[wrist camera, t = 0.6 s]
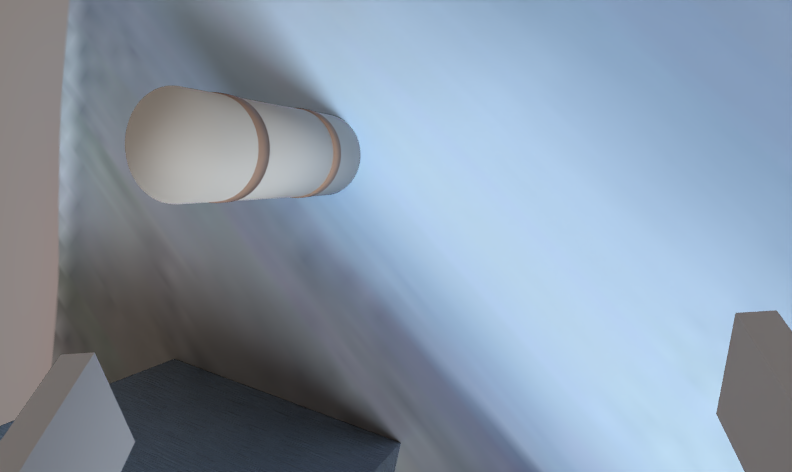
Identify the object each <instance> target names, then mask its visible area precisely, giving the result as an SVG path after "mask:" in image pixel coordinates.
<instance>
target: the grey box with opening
mask: <svg viewBox="0 0 792 472" xmlns="http://www.w3.org/2000/svg"><path fill="white" fill-rule="evenodd" d="M109 385H110V388H111V390H112V392H113V394H114V396H115V399H116V401H117V403H118V405H119V407H120V410H121V412H122V414H123V416H124V418H125V421H126V423H127V425H128V427H129V429H130V432H131V434H132V436H133V438H134V440H135V443H134V445H133V447H132V449H131V452H130V454H129V456H128V458H127V460H126V462H125V464H124V466H123V468H122V471H121V472H394V471H395V466H396V461H397V457H398V452H399V447H400V443H399V442H396V441H394V440H391V439H388V438H386V437H383V436H380V435H377V434H375V433H372V432H369V431H367V430H364V429H361V428H359V427H356V426H353V425H351V424H348V423H345V422H342V421H340V420H337V419H334V418H332V417H329V416H326V415H324V414H321V413H318V412H316V411H313V410H310V409H307V408H305V407H302V406H299V405H297V404H294V403H291V402H289V401H286V400H283V399H281V398H278V397H275V396H273V395H270V394H267V393H264V392H262V391H259V390H256V389H254V388H251V387H248V386H246V385H243V384H240V383H238V382H235V381H232V380H229V379H227V378H224V377H221V376H219V375H216V374H213V373H211V372H208V371H205V370H203V369H200V368H197V367H194V366H192V365H189V364H186V363H184V362H181V361H178V360H176V359H173V360H170V361H168V362H165V363H162V364H160V365H157V366H155V367H152V368H149V369H147V370H144V371H142V372H139V373H136V374H134V375H131V376H129V377H126V378H123V379H121V380H118V381H116V382H113V383H110V384H109ZM14 421H15V420H14ZM14 421H11V422H9V423H6V424H4V425H1V426H0V441H1V439H2V438H3V437H4V435H5V434H6V432H7V431H8V429H9V428H10V427H11V425H12V424H13V422H14Z"/></svg>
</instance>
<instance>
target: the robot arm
mask: <svg viewBox="0 0 792 472" xmlns="http://www.w3.org/2000/svg"><path fill="white" fill-rule="evenodd" d="M716 414H717V416H718V418H719V420H720V422H721V424H722V426H723V428H724V430H725V432H726V434H727V436H728V439H729V441H730V443H731V445H732V447H733V449H734V451H735V453H736V455H737V457H738V459H739V461H740V463H741V465H742V467H743V469H744V471H745V472H792V331H791V330H790V328H789V327H788V325H787V324H786V323H785V321H784V320H783V319H782V317H781V316H780V314H779V313H778V312H777V311H761V312H745V313H736V314H735V319H734V324H733V329H732V334H731V340H730V345H729V350H728V355H727V361H726V366H725V371H724V376H723V382H722V387H721V392H720V397H719V403H718V408H717V413H716ZM134 443H135V440H134V438H133V436H132V434H131V432H130V429H129V427H128V425H127V423H126V421H125V418H124V416H123V414H122V412H121V410H120V407H119V405H118V403H117V401H116V399H115V396H114V394H113V392H112V390H111V388H110V385H109V383H108V381H107V379H106V376H105V374H104V372H103V370H102V368H101V365H100V363H99V361H98V359H97V357H96V354H95V352H93V353H77V354H61V355H60V356H59V357H58V359H57V360H56V362H55V363H54V365H53V366H52V367H51V369H50V370H49V372H48V373H47V375H46V376H45V378H44V379H43V380H42V382H41V383H40V385H39V386H38V388H37V389H36V391H35V392H34V393H33V395H32V396H31V398H30V399H29V401H28V402H27V403H26V405H25V406H24V408H23V409H22V411H21V412H20V414H19V415H18V417H17V418H16V419H15V421H14V422H13V424H12V425H11V427H10V428H9V429H8V431H7V432H6V434H5V435H4V437H3V438H2V439H1V441H0V472H121V471H122V468H123V466H124V464H125V462H126V460H127V458H128V456H129V454H130V452H131V449H132V447H133V445H134Z"/></svg>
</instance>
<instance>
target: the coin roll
mask: <svg viewBox="0 0 792 472" xmlns="http://www.w3.org/2000/svg"><path fill="white" fill-rule="evenodd" d="M125 151H126V158H127V162H128V166H129V169H130V171H131V173H132V175H133V178H134V179H135V181H136V182H137V184H138V185H139V186H140V188H141V189H142V190H143V191H144V192H145V193H146V194H148V195H149V196H150V197H152V198H153V199H155V200H157V201H160V202H163V203H167V204H188V203H204V202H209V203H223V202H233V201H237V200H254V199H270V198H287V197H290V198H303V197H310V196H320V195H331V194H335V193H337V192H339V191H341V190H343V189H344V188H345V187H347V186H348V185H349V184H350V183H351V181H352V180H353V179H354V177H355V175H356V173H357V170H358V168H359V164H360V146H359V142H358V139H357V136H356V134H355V132H354V131H353V129H352V128H351V127H350V126H349V125H348V124H347V123H346V122H345V121H344V120H342V119H340V118H338V117H336V116H333V115H329V114H324V113H318V112H315V111H312V110H307V109H302V108H292V107H286V106H281V105H276V104H270V103H265V102H260V101H255V100H249V99H244V98H239V97H237V96H233V95H229V94H224V93H218V92H207V91H202V90H196V89H191V88H186V87H180V86H164V87H160V88H158V89H155V90H153V91H151V92H150V93H148V94H147V95H146V96H145V97H143V99H142V100H141V101H140V102H139V103H138V104H137V106H136V107H135V109H134V110H133V112H132V114H131V117H130V119H129V122H128V125H127V130H126V136H125Z"/></svg>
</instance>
